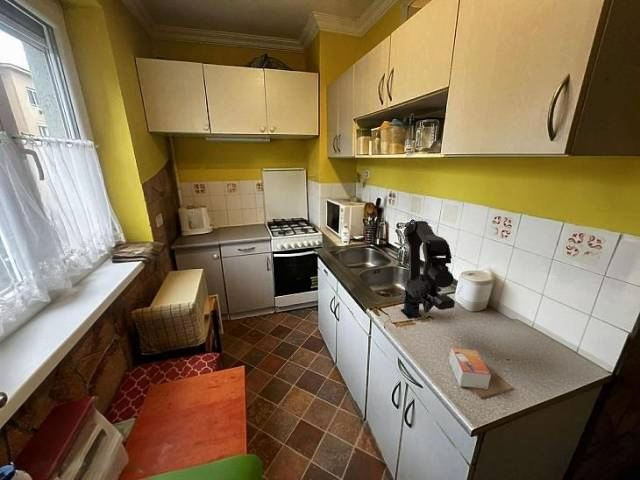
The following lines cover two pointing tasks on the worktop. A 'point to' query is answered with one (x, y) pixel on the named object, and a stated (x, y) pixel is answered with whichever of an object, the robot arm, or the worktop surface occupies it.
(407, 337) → the worktop surface
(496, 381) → the brown coaster
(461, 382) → the small box
